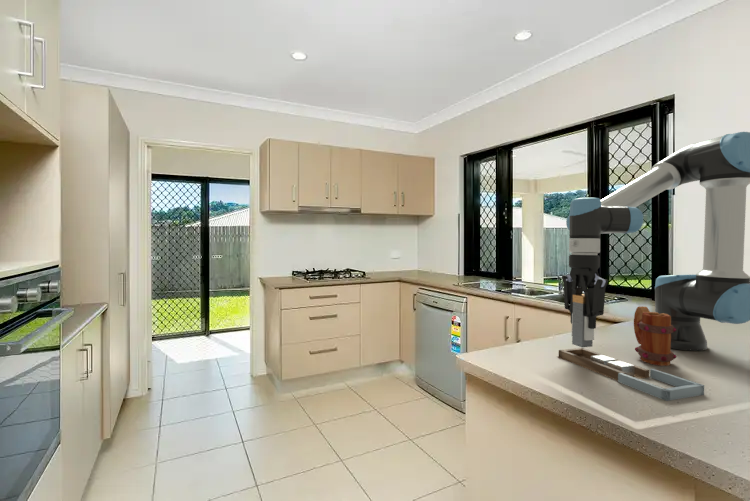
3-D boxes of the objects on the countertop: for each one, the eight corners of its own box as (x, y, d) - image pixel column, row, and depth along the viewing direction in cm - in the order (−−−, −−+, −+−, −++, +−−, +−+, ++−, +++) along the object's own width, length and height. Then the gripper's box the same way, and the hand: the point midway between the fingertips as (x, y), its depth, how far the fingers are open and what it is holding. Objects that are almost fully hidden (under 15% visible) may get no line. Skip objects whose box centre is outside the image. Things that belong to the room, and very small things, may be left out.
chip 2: (619, 370, 95) (619, 360, 95) (634, 375, 92) (634, 365, 92) (607, 371, 94) (607, 361, 94) (621, 377, 90) (621, 366, 90)
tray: (653, 380, 91) (653, 368, 91) (704, 399, 80) (704, 385, 80) (618, 385, 88) (618, 373, 88) (666, 405, 77) (666, 391, 77)
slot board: (584, 356, 110) (584, 347, 110) (651, 381, 91) (651, 369, 90) (556, 359, 107) (556, 350, 107) (619, 385, 88) (619, 373, 88)
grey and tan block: (582, 343, 106) (583, 294, 106) (592, 346, 103) (593, 295, 102) (571, 344, 105) (572, 294, 105) (582, 347, 102) (583, 296, 101)
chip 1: (602, 364, 100) (602, 354, 100) (616, 368, 96) (616, 359, 96) (590, 365, 99) (590, 356, 99) (603, 370, 95) (604, 360, 95)
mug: (682, 371, 97) (683, 314, 97) (647, 369, 99) (648, 313, 98) (652, 355, 111) (653, 305, 111) (622, 353, 113) (622, 304, 113)
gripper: (551, 253, 110) (549, 331, 111) (599, 255, 94) (597, 346, 95) (571, 253, 112) (570, 330, 113) (622, 255, 96) (620, 344, 97)
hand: (582, 337), depth 104 cm, fingers closed on grey and tan block, 3 cm apart
